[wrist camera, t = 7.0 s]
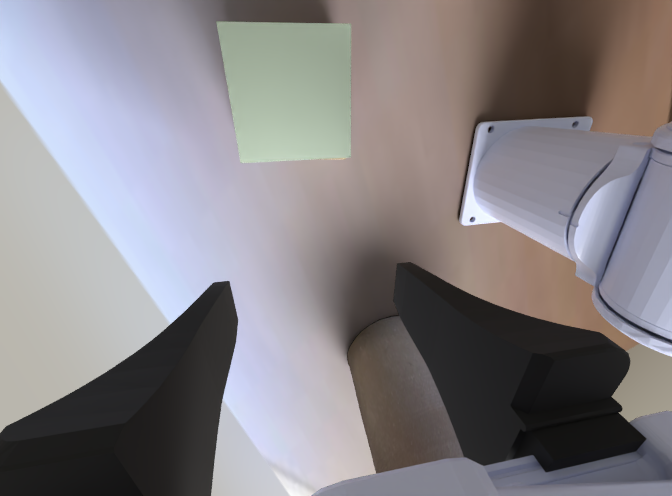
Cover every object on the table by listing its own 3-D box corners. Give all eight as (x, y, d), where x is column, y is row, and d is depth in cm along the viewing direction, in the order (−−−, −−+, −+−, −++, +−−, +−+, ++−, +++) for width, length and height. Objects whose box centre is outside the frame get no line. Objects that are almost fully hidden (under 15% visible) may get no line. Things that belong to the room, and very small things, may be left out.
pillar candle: (354, 389, 32) (405, 588, 19) (339, 328, 27) (391, 535, 14) (435, 366, 33) (538, 544, 20) (433, 302, 28) (567, 479, 15)
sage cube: (330, 46, 12) (351, 23, 9) (333, 144, 14) (350, 157, 11) (235, 46, 12) (216, 21, 8) (251, 147, 13) (240, 163, 10)
